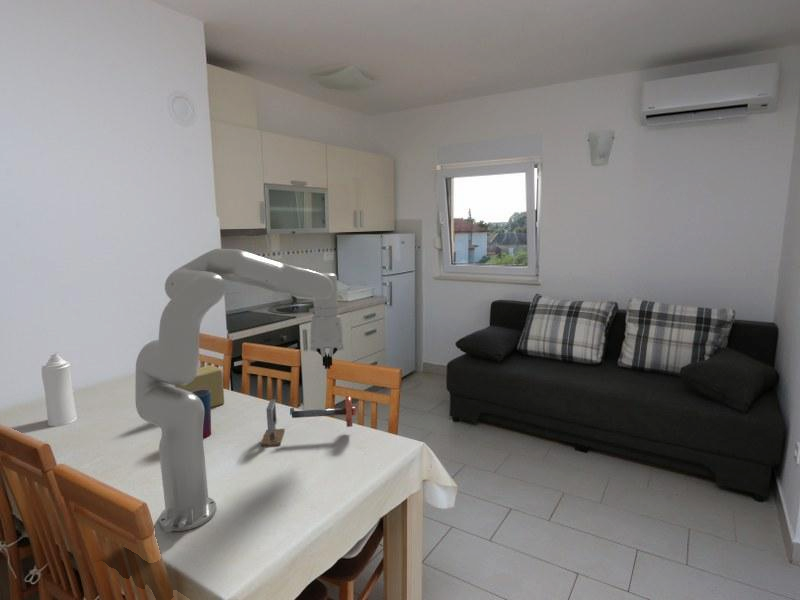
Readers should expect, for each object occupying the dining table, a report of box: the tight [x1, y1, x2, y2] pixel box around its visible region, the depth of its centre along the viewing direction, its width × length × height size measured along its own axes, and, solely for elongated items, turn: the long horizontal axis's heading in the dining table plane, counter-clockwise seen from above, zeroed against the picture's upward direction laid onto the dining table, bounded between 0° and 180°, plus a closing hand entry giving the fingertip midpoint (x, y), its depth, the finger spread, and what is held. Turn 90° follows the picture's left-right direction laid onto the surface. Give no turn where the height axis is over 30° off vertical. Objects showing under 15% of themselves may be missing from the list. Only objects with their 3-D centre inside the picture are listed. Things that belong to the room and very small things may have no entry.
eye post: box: [260, 398, 285, 447], centre depth 152 cm, size 10×6×12 cm, turn 6°
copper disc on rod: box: [289, 395, 357, 428], centre depth 153 cm, size 10×21×10 cm, turn 96°
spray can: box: [41, 351, 78, 427], centre depth 169 cm, size 12×11×25 cm
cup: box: [191, 389, 212, 439], centre depth 155 cm, size 7×7×15 cm
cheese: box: [175, 364, 225, 408], centre depth 176 cm, size 22×10×15 cm, turn 144°
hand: (327, 367), depth 150 cm, fingers closed
